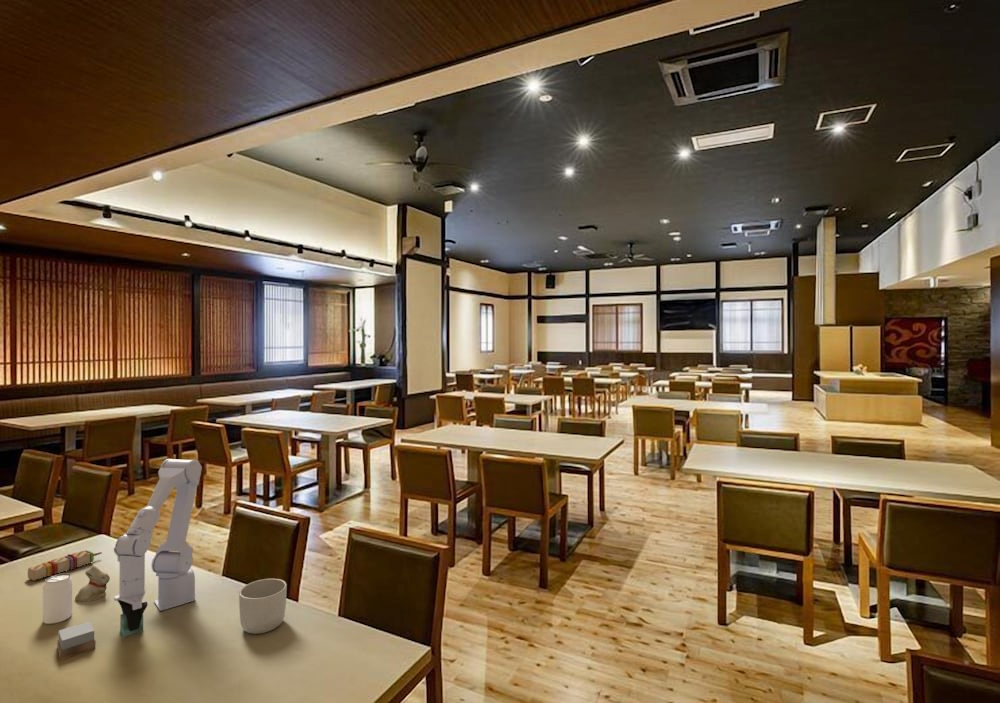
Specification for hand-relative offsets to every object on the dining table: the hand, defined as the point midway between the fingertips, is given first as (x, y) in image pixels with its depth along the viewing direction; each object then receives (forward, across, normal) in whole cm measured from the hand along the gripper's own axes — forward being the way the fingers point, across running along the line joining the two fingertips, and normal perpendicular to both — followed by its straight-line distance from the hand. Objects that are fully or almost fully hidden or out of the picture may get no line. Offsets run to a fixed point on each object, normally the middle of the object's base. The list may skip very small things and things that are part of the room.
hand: (131, 625), depth 142 cm
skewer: (+2, -62, -8) cm, 62 cm away
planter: (+2, +23, +27) cm, 36 cm away
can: (+2, -22, -14) cm, 26 cm away
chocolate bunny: (+2, -31, -5) cm, 31 cm away
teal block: (+2, 0, 0) cm, 2 cm away
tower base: (+2, 0, -12) cm, 12 cm away
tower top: (-1, 0, -12) cm, 12 cm away
